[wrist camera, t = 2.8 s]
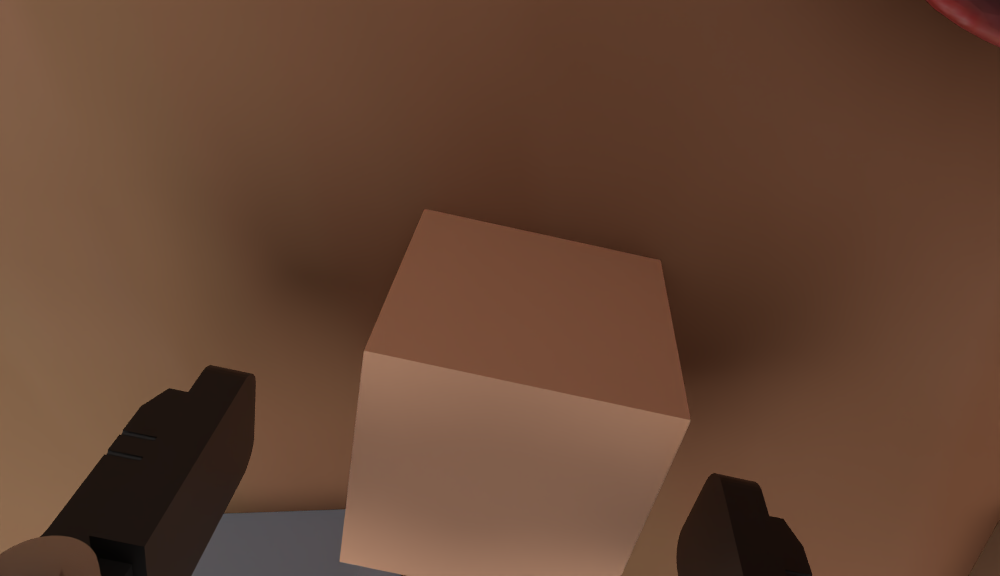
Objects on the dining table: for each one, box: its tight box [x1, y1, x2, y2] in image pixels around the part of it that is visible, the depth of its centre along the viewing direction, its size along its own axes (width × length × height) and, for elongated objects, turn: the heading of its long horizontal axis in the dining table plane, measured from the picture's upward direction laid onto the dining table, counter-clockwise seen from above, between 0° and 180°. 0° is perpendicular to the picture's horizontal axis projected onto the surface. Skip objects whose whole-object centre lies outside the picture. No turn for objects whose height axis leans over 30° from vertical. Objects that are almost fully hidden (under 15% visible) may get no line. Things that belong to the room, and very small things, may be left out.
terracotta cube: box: [339, 209, 691, 576], centre depth 14 cm, size 5×5×5 cm
